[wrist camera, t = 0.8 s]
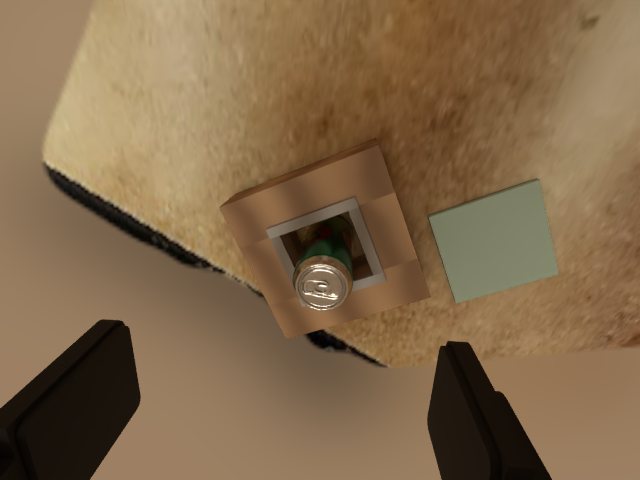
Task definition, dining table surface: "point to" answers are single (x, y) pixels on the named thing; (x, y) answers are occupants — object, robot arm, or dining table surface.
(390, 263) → the housing
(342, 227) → the soda can
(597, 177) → the dining table surface
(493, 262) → the mat
